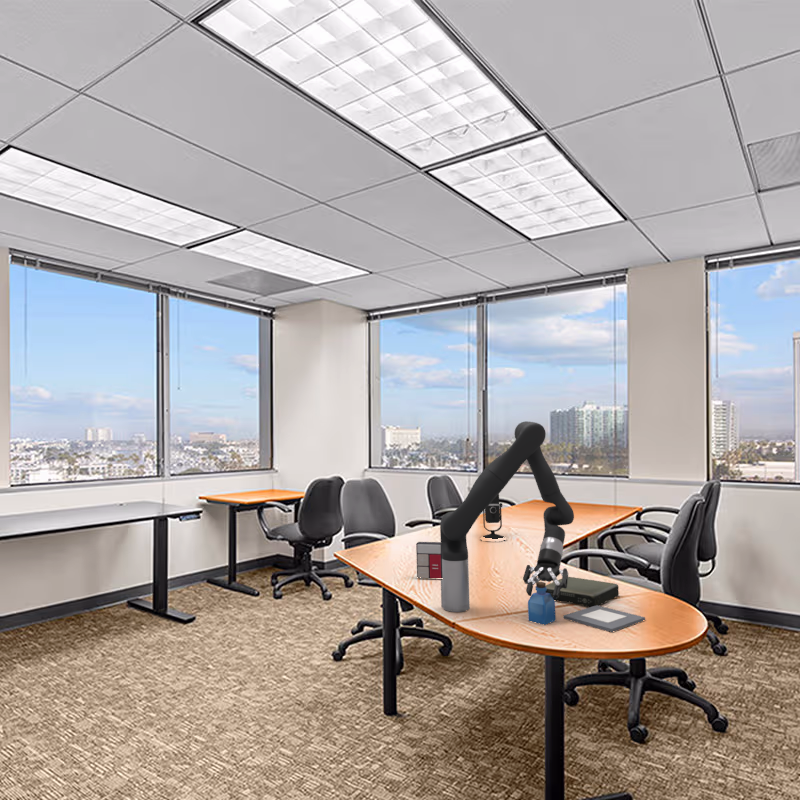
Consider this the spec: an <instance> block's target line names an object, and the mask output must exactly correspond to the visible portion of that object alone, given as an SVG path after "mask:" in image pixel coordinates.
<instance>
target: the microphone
mask: <svg viewBox="0 0 800 800" xmlns="http://www.w3.org/2000/svg"><path fill="white" fill-rule="evenodd" d="M502 508H503V503H502V502H500V493H499V494H498V495H497V496H496V497H495V499H494V500H493V501H492V502H491V503H490V504H489V505H488V506H487V507H486V508H485V509H484V510H483V512H482V515H483V517H482V518H483V528H484V529H485V530H486V531H487V532H490V533H488V534H486V535H482V536H483V537H485V538H492V539H498V538H503V537H504V536H505V535H501V534H497V533H496V532H499V531H500V530H501V529H502V527H503V525H502V523H503V522H502V520H503V518H502ZM485 522H486V523H487V524H498V523H500V524H499V525H500V526H499V527H498V528H497V529H493V530H492V529H488V528H487V527H486V523H485Z"/></svg>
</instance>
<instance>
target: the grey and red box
mask: <svg viewBox="0 0 800 800" xmlns="http://www.w3.org/2000/svg"><path fill="white" fill-rule="evenodd" d="M415 545H416V550H415V551H416V552H415V553H416V578H417V577H418V578H420V577H421V578H443V577H442V551H441V541H440V542H439V541H418V542H417V543H416V544H415Z"/></svg>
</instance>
